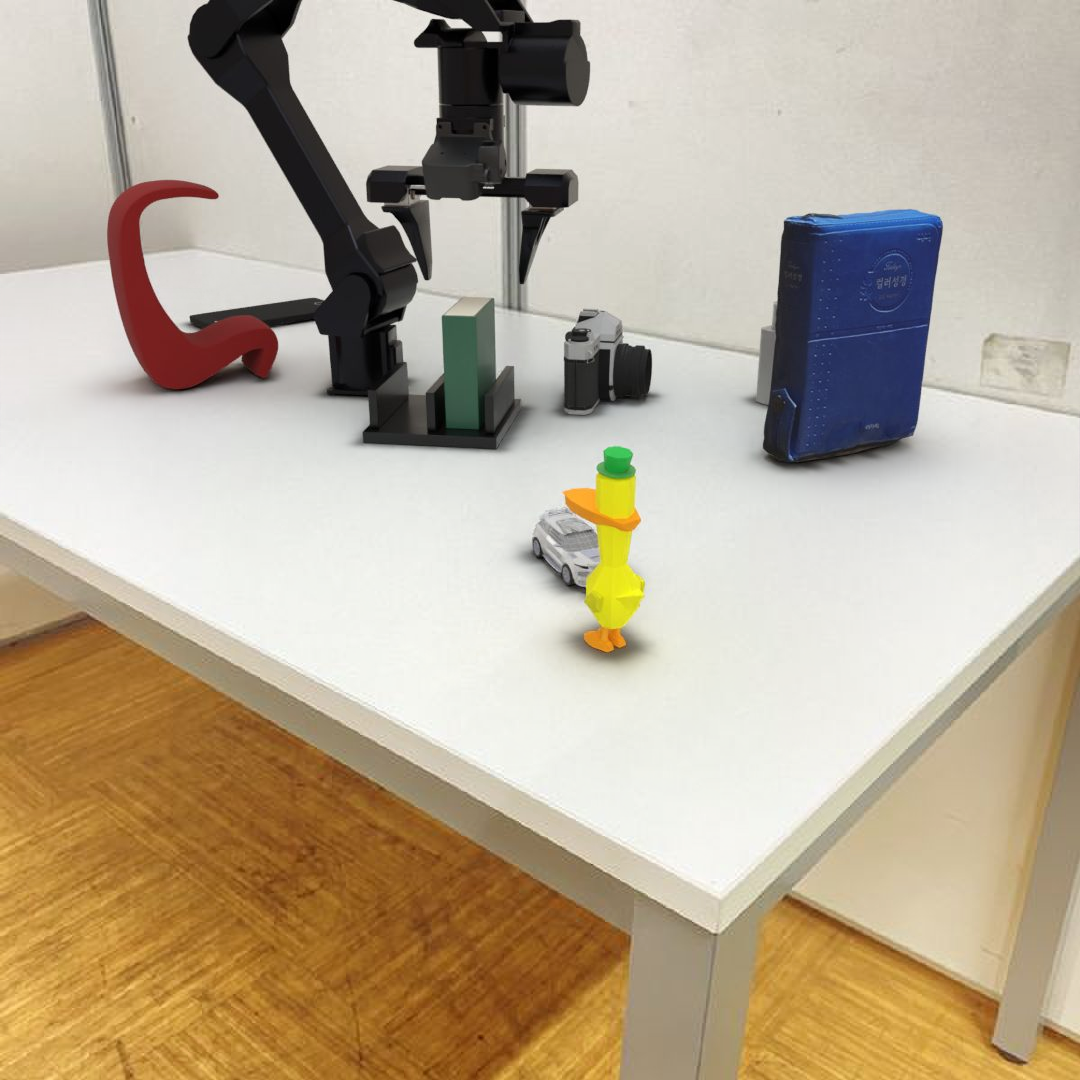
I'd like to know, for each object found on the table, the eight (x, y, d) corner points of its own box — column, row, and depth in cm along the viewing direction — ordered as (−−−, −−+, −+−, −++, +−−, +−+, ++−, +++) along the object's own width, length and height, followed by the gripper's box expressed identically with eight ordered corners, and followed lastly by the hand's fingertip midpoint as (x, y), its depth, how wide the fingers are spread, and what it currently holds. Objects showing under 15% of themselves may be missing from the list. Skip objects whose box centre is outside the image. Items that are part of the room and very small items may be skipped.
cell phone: (348, 314, 147) (347, 307, 147) (217, 335, 137) (216, 327, 136) (315, 303, 153) (314, 296, 153) (188, 322, 143) (187, 315, 143)
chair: (138, 396, 113) (107, 189, 105) (126, 379, 119) (94, 181, 111) (283, 377, 120) (264, 180, 112) (264, 361, 125) (244, 173, 117)
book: (790, 473, 92) (812, 220, 84) (749, 454, 96) (767, 211, 88) (921, 446, 98) (954, 207, 90) (878, 429, 102) (906, 200, 94)
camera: (639, 420, 105) (645, 323, 102) (557, 414, 107) (560, 318, 104) (654, 392, 117) (659, 305, 114) (580, 387, 119) (583, 301, 116)
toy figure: (543, 628, 67) (543, 437, 63) (589, 611, 69) (592, 424, 65) (619, 673, 62) (625, 469, 58) (666, 653, 64) (675, 455, 60)
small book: (445, 428, 100) (441, 315, 96) (465, 402, 107) (462, 296, 103) (479, 429, 99) (475, 316, 95) (496, 404, 107) (494, 297, 103)
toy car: (576, 595, 71) (576, 552, 70) (526, 549, 78) (526, 509, 77) (628, 585, 73) (629, 542, 72) (574, 540, 79) (574, 500, 78)
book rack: (363, 442, 100) (359, 393, 98) (400, 403, 110) (397, 358, 109) (496, 449, 98) (495, 398, 96) (520, 409, 109) (520, 363, 107)
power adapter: (752, 400, 111) (761, 277, 106) (789, 390, 114) (799, 270, 109) (776, 407, 109) (786, 281, 104) (813, 397, 112) (825, 275, 107)
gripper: (338, 107, 95) (351, 294, 101) (557, 110, 91) (556, 303, 97) (382, 101, 105) (390, 272, 111) (580, 104, 101) (578, 279, 107)
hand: (474, 281), depth 106 cm, fingers open, 9 cm apart
